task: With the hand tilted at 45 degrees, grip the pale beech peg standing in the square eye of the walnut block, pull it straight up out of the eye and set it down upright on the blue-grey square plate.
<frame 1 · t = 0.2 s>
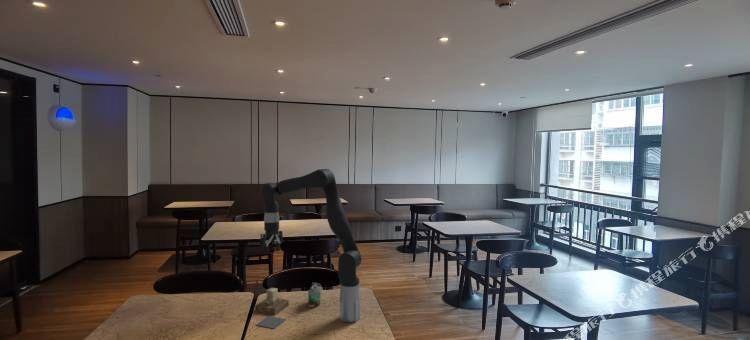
hand: (271, 252, 199), 28 cm above the table, tool pointing down, fingers open, 8 cm apart
food container: (316, 305, 202), on the table
walnut eye block: (272, 308, 196), on the table
blue-grey square plate: (271, 322, 180), on the table
beech peg: (272, 298, 196), in the walnut eye block
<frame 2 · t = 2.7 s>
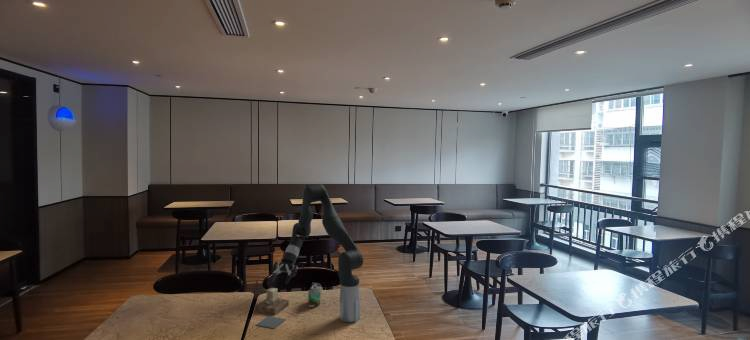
hand: (279, 281, 202), 12 cm above the table, tool tilted 45°, fingers open, 8 cm apart
nothing on the table moved.
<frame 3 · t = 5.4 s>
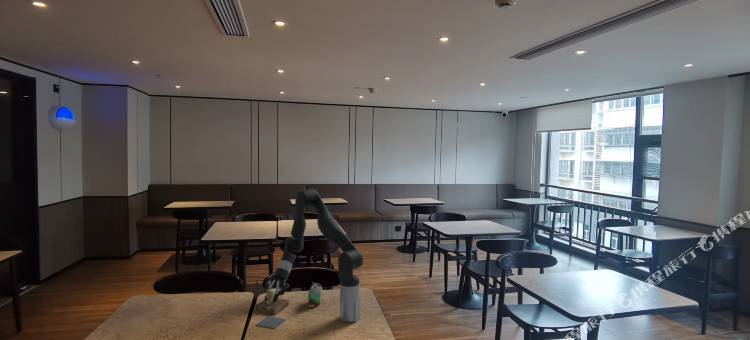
hand: (269, 301, 194), 5 cm above the table, tool tilted 45°, fingers closed on beech peg, 4 cm apart
beech peg: (272, 298, 196), in the walnut eye block, touching gripper
everything else where it was.
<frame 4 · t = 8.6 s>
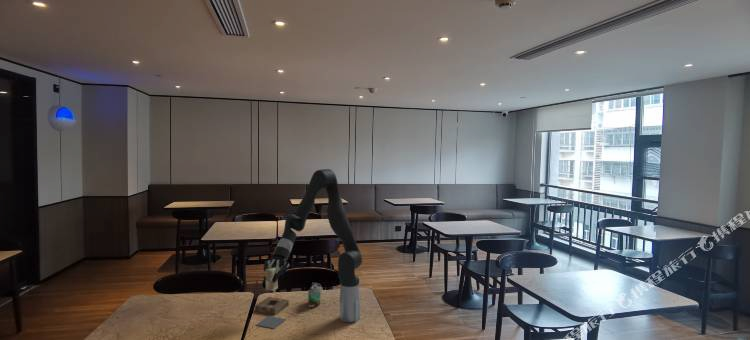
hand: (269, 281, 181), 20 cm above the table, tool tilted 45°, fingers closed on beech peg, 4 cm apart
beech peg: (271, 278, 182), point 20 cm above the table, touching gripper
everything else where it was.
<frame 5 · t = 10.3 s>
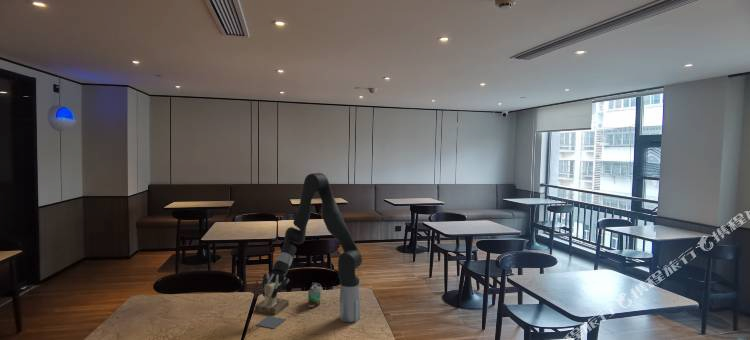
hand: (268, 296, 178), 13 cm above the table, tool tilted 45°, fingers closed on beech peg, 4 cm apart
beech peg: (270, 294, 180), point 14 cm above the table, touching gripper
everything else where it was.
when the fingers open (6 cm above the table, at t = 11.9 s): beech peg drops 1 cm, resting on blue-grey square plate.
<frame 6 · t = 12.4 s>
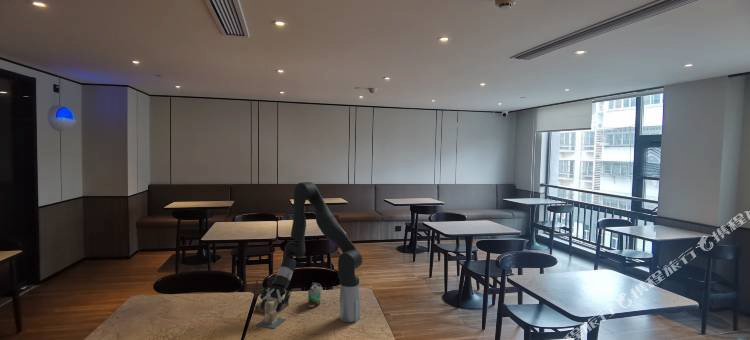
hand: (269, 310, 179), 7 cm above the table, tool tilted 45°, fingers open, 8 cm apart
beech peg: (271, 311, 180), on the blue-grey square plate
everything else where it was.
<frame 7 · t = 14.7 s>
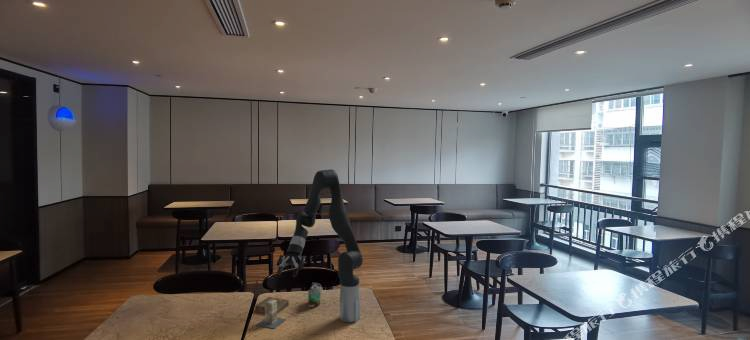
hand: (286, 275, 190), 19 cm above the table, tool tilted 40°, fingers open, 8 cm apart
nothing on the table moved.
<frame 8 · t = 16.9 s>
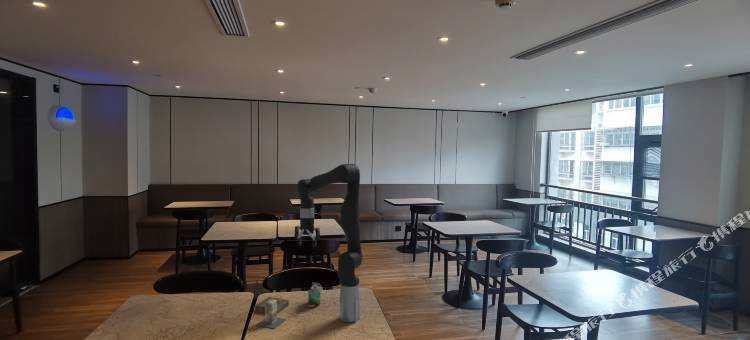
hand: (307, 246, 205), 30 cm above the table, tool pointing down, fingers open, 8 cm apart
nothing on the table moved.
at the end: beech peg inside the target area (0.0 cm from its centre), resting on blue-grey square plate; beech peg tilted 0°; the gripper is holding nothing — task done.
